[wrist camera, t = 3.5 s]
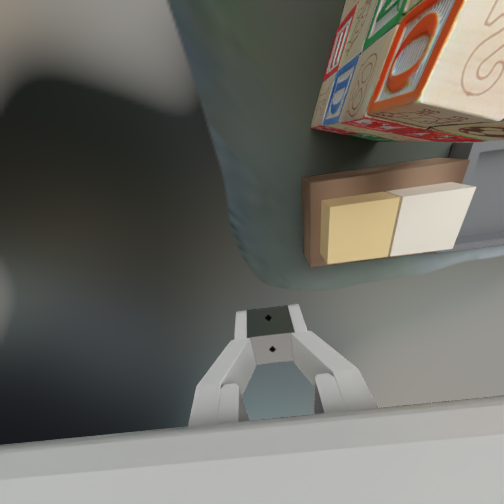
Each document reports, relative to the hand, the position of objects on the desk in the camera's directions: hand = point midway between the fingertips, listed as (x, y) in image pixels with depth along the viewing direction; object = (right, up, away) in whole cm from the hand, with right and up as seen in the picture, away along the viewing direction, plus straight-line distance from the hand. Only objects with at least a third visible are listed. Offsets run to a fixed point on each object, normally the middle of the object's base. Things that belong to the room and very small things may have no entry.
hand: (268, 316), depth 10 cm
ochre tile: (+8, +6, +8) cm, 12 cm away
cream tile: (+13, +6, +7) cm, 16 cm away
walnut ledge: (+10, +7, +10) cm, 16 cm away
